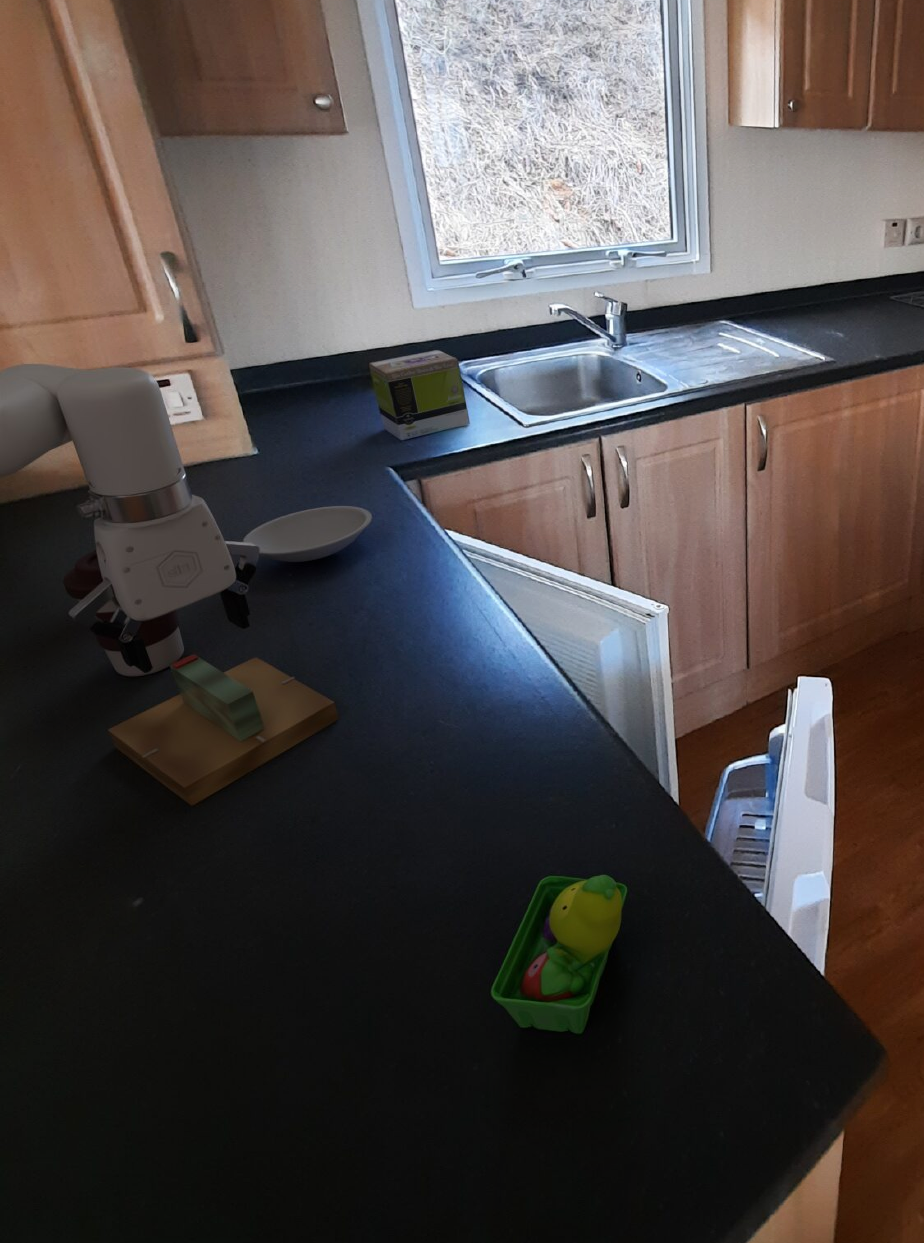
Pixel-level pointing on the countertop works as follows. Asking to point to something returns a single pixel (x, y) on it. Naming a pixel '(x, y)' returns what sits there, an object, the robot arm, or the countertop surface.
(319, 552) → the dish
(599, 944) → the fruit basket
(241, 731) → the green rectangular block
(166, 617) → the coffee cup
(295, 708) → the base
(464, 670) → the countertop surface
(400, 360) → the tea box
